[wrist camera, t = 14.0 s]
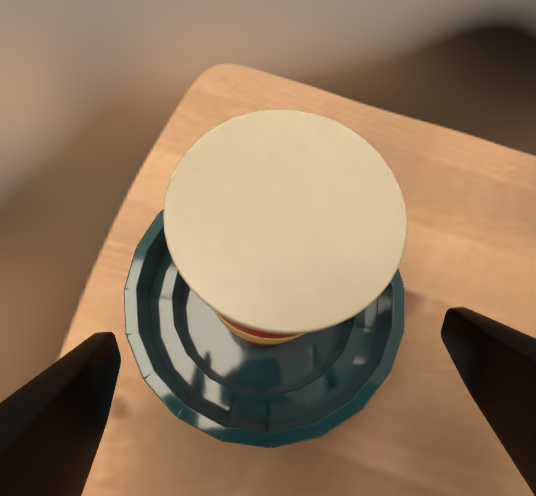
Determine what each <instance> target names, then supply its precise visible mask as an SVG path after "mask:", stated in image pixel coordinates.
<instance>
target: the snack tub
mask: <svg viewBox="0 0 536 496" xmlns="http://www.w3.org/2000/svg"><path fill="white" fill-rule="evenodd" d="M163 221H164V233H165V237H166V242H167V246H168V249H169V252H170V254H171V257H172V260H173V262H174V264H175V266H176V267H177V269H178V271H179V273H180V275H181V276H182V278H183V279H184V280H185V282H186V283H187V284H188V285H189V287H190V288H191V289H192V291H193V292H194V293H195V294H196V295H197V296H198V297H199V298H200V299H201V300H202V301H203V302H204V303H205V304H206V305H208V306H209V307H210V308H212V310H213V311H214V312H215V314H216V315H217V316H218V318H219V319H220V320H221V322H222V323H223V324H224V325H225V326H226V327H227V328H228V329H229V331H230V332H231V333H232V334H233V335H234V336H235V337H236V338H238V339H239V340H240V341H242V342H244V343H246V344H249V345H251V346H255V347H272V346H276V345H280V344H282V343H284V342H287V341H290V340H293V339H295V338H297V337H299V336H301V335H303V334H306V333H310V332H316V331H319V330H323V329H326V328H329V327H332V326H335V325H337V324H339V323H341V322H344V321H346V320H348V319H350V318H352V317H354V316H355V315H357V314H358V313H360V312H361V311H363V310H364V309H366V308H367V307H368V306H369V305H370V304H371V303H372V302H373V301H375V300H376V299H377V298H378V297H379V296H380V294H381V293H382V292H383V291H384V290H385V288H386V287H387V286H388V285H389V283H390V281H391V280H392V278H393V276H394V275H395V273H396V271H397V269H398V266H399V264H400V261H401V259H402V256H403V252H404V248H405V244H406V233H407V217H406V209H405V204H404V199H403V196H402V193H401V190H400V187H399V184H398V182H397V180H396V178H395V176H394V174H393V172H392V171H391V169H390V168H389V166H388V165H387V163H386V161H385V160H384V159H383V158H382V157H381V155H380V154H379V153H378V152H377V151H376V150H375V149H374V148H373V147H372V146H371V145H370V144H369V143H368V142H367V141H366V140H365V139H363V138H362V137H361V136H359V135H358V134H357V133H355V132H354V131H352V130H351V129H349V128H347V127H346V126H344V125H342V124H340V123H338V122H336V121H333V120H331V119H329V118H326V117H323V116H320V115H317V114H313V113H309V112H304V111H297V110H287V109H273V110H262V111H257V112H252V113H247V114H244V115H241V116H238V117H235V118H232V119H230V120H228V121H226V122H223V123H221V124H219V125H218V126H216V127H215V128H213V129H211V130H210V131H208V132H207V133H206V134H204V135H203V136H202V137H201V138H199V139H198V140H197V141H196V142H195V143H194V144H193V145H192V146H191V147H190V148H189V149H188V151H187V152H186V153H185V155H184V156H183V157H182V159H181V160H180V162H179V163H178V165H177V167H176V169H175V171H174V172H173V175H172V177H171V180H170V182H169V185H168V188H167V192H166V197H165V201H164V212H163Z"/></svg>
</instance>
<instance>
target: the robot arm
mask: <svg viewBox="0 0 536 496" xmlns="http://www.w3.org/2000/svg"><path fill="white" fill-rule="evenodd" d="M441 337H442V340H443V342H444V344H445V346H446V348H447V350H448V352H449V354H450V356H451V358H452V360H453V362H454V364H455V366H456V368H457V370H458V372H459V374H460V376H461V378H462V380H463V382H464V384H465V385H466V387H467V389H468V391H469V393H470V394H471V396H472V398H473V399H474V401H475V402H476V404H477V405H478V407H479V409H480V410H481V412H482V413H483V415H484V416H485V418H486V420H487V421H488V423H489V424H490V426H491V428H492V429H493V431H494V432H495V434H496V435H497V437H498V439H499V440H500V442H501V443H502V445H503V446H504V448H505V450H506V451H507V453H508V454H509V456H510V457H511V459H512V461H513V462H514V464H515V465H516V467H517V468H518V470H519V472H520V473H521V475H522V476H523V478H524V479H525V481H526V483H527V484H528V486H529V487H530V489H531V490H532V492H533V494H534V495H535V496H536V339H535V338H533V337H531V336H529V335H526V334H524V333H522V332H520V331H517V330H515V329H513V328H510V327H508V326H506V325H504V324H501V323H499V322H497V321H495V320H492V319H490V318H488V317H486V316H483V315H481V314H479V313H477V312H474V311H472V310H470V309H467V308H465V307H456V308H450V309H448V310H447V312H446V315H445V319H444V322H443V326H442V329H441ZM120 364H121V356H120V352H119V349H118V345H117V342H116V338H115V335H114V334H113V333H112V332H100V333H95V334H93V335H92V336H91V337H89V338H88V339H86V340H85V341H84V342H82V343H81V344H80V345H78V346H77V347H76V348H74V349H73V350H71V351H70V352H69V353H67V354H66V355H65V356H63V357H62V358H61V359H59V360H58V361H57V362H55V363H54V364H52V365H51V366H50V367H48V368H47V369H46V370H44V371H43V372H42V373H40V374H39V375H38V376H36V377H35V378H34V379H32V380H31V381H29V382H28V383H27V384H25V385H24V386H23V387H21V388H20V389H18V390H17V391H16V392H14V393H13V394H12V395H10V396H9V397H8V398H6V399H5V400H3V401H2V402H1V403H0V496H81V495H82V492H83V489H84V486H85V483H86V480H87V478H88V475H89V472H90V469H91V466H92V463H93V461H94V458H95V455H96V452H97V449H98V446H99V444H100V441H101V438H102V435H103V432H104V429H105V426H106V423H107V419H108V415H109V411H110V407H111V403H112V399H113V394H114V390H115V386H116V382H117V377H118V373H119V369H120Z"/></svg>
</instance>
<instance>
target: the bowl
mask: <svg viewBox="0 0 536 496" xmlns="http://www.w3.org/2000/svg"><path fill="white" fill-rule="evenodd" d="M163 212H164V209H163V210H162V211H161V212H160V213H159V214H158V215H157V217H156V218H155V220H154V221H153V223H152V224H151V226H150V227H149V229H148V230H147V232H146V233H145V235H144V236H143V238H142V239H141V241H140V242H139V244H138V245H137V248H136V250H135V253H134V257H133V260H132V264H131V267H130V270H129V274H128V277H127V281H126V284H125V289H124V305H125V330H126V335H127V339H128V342H129V344H130V347H131V349H132V352H133V354H134V357H135V360H136V362H137V365H138V367H139V370H140V372H141V375H142V377H143V379H144V381H145V382H146V383H147V384H148V386H149V387H150V388H151V389H152V390H153V391H154V392H155V394H156V395H157V396H158V397H159V398H160V399H161V400H162V402H163V403H164V404H165V405H166V406H167V407H168V408H169V410H170V411H171V412H172V413H173V414H174V415H175V416H177V418H179V419H181V420H182V421H184V422H186V423H188V424H190V425H192V426H193V427H195V428H197V429H199V430H201V431H203V432H204V433H206V434H208V435H210V436H212V437H214V438H215V439H217V440H221V441H222V442H229V443H236V444H243V445H250V446H257V447H264V448H275V447H280V446H284V445H289V444H293V443H298V442H302V441H307V440H311V439H316V438H319V437H322V436H323V435H325V434H326V433H328V432H329V431H331V430H333V429H334V428H336V427H337V426H339V425H340V424H342V423H343V422H345V421H346V420H348V419H350V418H351V417H353V416H354V415H356V414H357V413H359V412H360V411H361V410H362V409H363V408H364V407H365V405H366V404H367V403H368V401H369V400H370V399H371V398H372V396H373V395H374V394H375V392H376V391H377V390H378V388H379V387H380V386H381V384H382V383H383V382H384V380H385V379H386V378H387V376H388V375H389V373H390V372H391V369H392V366H393V363H394V360H395V357H396V354H397V350H398V347H399V344H400V341H401V338H402V335H403V332H404V330H403V329H404V287H403V286H404V285H403V282H402V278H401V275H400V272H399V269H397V271H396V273H395V275H394V276H393V278H392V280H391V281H390V283H389V285H388V286H387V287H386V288H385V290H384V291H383V292H382V293H381V294H380V296H379V297H378V298H377V299H376V300H375V301H373V302H372V303H371V304H370V305H369V306H368V307H367V308H366V309H364V310H363V311H361V312H360V313H358V314H357V315H355V316H354V317H352V318H350V319H348V320H346V321H344V322H341V323H339V324H337V325H335V326H332V327H329V328H326V329H323V330H319V331H316V332H310V333H306V334H303V335H301V336H299V337H297V338H295V339H293V340H290V341H287V342H284V343H282V344H280V345H276V346H272V347H255V346H251V345H249V344H246V343H244V342H242V341H240V340H239V339H238V338H236V337H235V336H234V335H233V334H232V333H231V332H230V331H229V329H228V328H227V327H226V326H225V325H224V324H223V323H222V322H221V320H220V319H219V318H218V316H217V315H216V314H215V312H214V311H213V310H212V308H210V307H209V306H208V305H206V304H205V303H204V302H203V301H202V300H201V299H200V298H199V297H198V296H197V295H196V294H195V293H194V292H193V291H192V289H191V288H190V287H189V285H188V284H187V283H186V282H185V280H184V279H183V278H182V276H181V275H180V273H179V271H178V269H177V267H176V266H175V264H174V262H173V260H172V257H171V254H170V252H169V249H168V246H167V242H166V237H165V233H164V221H163Z"/></svg>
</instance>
